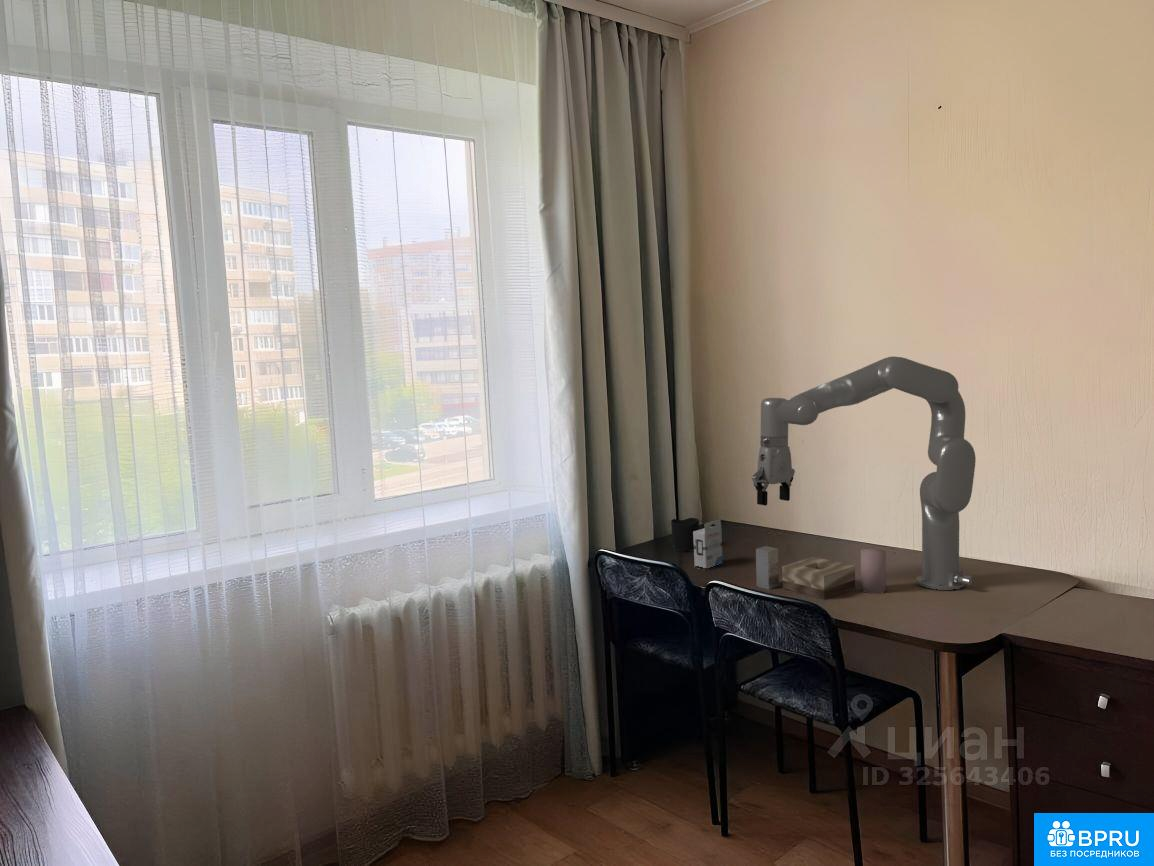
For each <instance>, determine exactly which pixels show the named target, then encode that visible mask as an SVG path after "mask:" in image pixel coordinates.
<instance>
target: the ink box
mask: <svg viewBox="0 0 1154 866" xmlns="http://www.w3.org/2000/svg"><path fill="white" fill-rule="evenodd" d="M712 525H714V526H712ZM722 533H723V531H722V521H721V519H720V518H719V519H716V520H713V521H709V522H705V523H704V528H701V529H700V528H699V530H697V531H693V539H694V551H693V556H694V557H693V558H694V559H693V560H694V561H693V562H694V567H695V566H699V567H703V568H710V567H713V566H716V565H719V564H721V563H723V541H722V540H723V539H722V537H723V535H722ZM719 566H720V565H719ZM716 567H717V566H716ZM713 568H714V567H713Z"/></svg>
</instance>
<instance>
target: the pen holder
mask: <svg viewBox="0 0 1154 866" xmlns="http://www.w3.org/2000/svg"><path fill="white" fill-rule="evenodd" d="M670 525H671V537H672V538H671V540H672V549H673V550H674V549H675V550H680V551H690V550H694V539H693V531H697V530H700V520H699V518H696V517H689V518H685V519H677V518H673V519H671V520H670ZM675 550H674V551H675Z"/></svg>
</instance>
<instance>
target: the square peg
mask: <svg viewBox="0 0 1154 866" xmlns="http://www.w3.org/2000/svg"><path fill="white" fill-rule="evenodd" d="M755 564H756V565H755V567H756V569H755V571H756V575H755V576H756V587H757V586H758V588H762V589H765V590H771V589H774V588H775V589H776V588H777V586H778V587H779V586H780V582H779V581H780V580H779V579H780V577H779V576H780V574H779V573H780V572H779V571H780V570H779V568H780V567H779V548H776V547H772V546H767V545H765V546H761V547H757V548H755Z"/></svg>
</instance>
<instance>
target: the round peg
mask: <svg viewBox="0 0 1154 866" xmlns="http://www.w3.org/2000/svg"><path fill="white" fill-rule="evenodd" d="M886 557H887V550H884V549H881V548H876V547H875V548H863V549H861V550H860V591H862V592H863V591H865V592H864V593H866V592H868V593H867V594H872V593H880V594H882V593H881V592H884V593H886V592H887V576H886V575H887V572H886V571H887V559H886ZM885 591H886V592H885Z"/></svg>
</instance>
